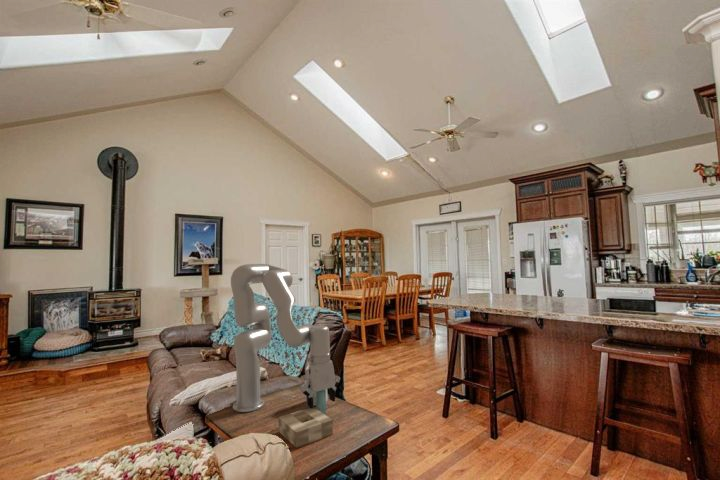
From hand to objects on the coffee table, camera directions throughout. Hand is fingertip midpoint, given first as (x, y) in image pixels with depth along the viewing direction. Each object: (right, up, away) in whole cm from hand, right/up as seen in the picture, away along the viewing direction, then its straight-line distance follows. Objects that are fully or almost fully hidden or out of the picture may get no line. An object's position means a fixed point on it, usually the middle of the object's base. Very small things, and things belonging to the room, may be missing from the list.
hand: (321, 403), depth 134 cm
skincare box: (-4, -7, +15) cm, 16 cm away
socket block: (-4, -5, -11) cm, 13 cm away
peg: (0, -6, 0) cm, 6 cm away
